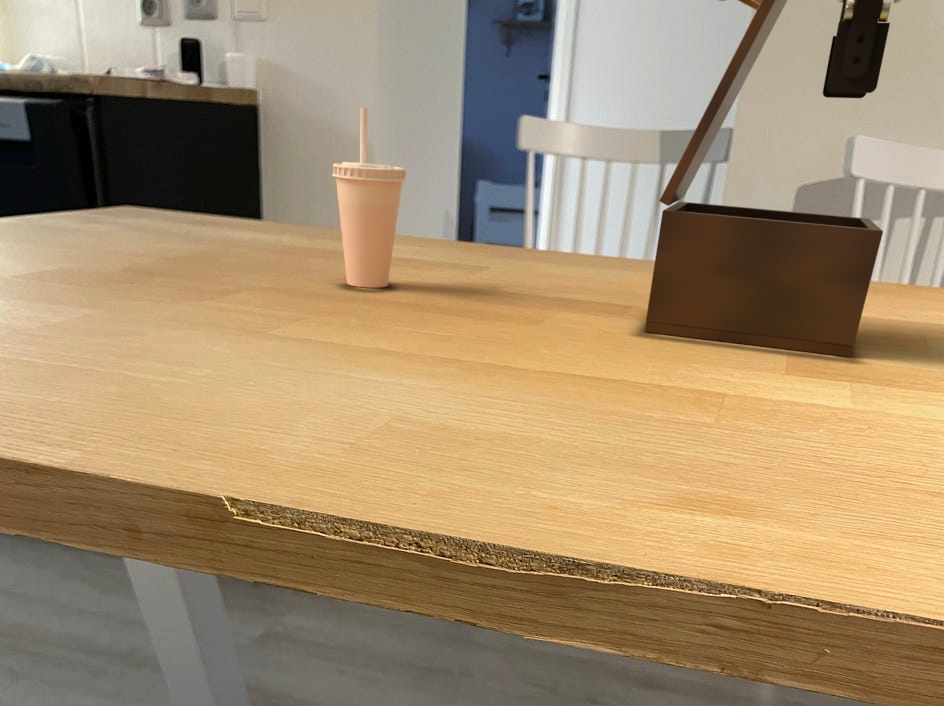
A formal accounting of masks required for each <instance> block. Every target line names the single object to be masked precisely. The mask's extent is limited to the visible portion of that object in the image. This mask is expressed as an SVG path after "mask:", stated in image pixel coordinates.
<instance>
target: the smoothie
mask: <svg viewBox="0 0 944 706" xmlns="http://www.w3.org/2000/svg"><path fill="white" fill-rule="evenodd" d="M359 118H360V121H359V124H360V125H359V128H360V130H359V131H360V132H359V140H360V141H359V162H356V161H355V162H353V161H342V162H335V163H333V164H332V174H331V177H334V178H335V183H336V193H337V194H336V195H337V201H338V202H337V203H338V211H339V220H340V221H339V222H340V229H341V230H340V231H341V239H342V240H341V241H342V247H343V248H342V249H343V258H344V266H345V268H344V269H345V278H346V283H347V285H349V286H353V287H360V288H370V289H371V288H373V289H375V288H385V287H388V286H389V279H390V271H391V266H392V265H391V264H392V257H393V252H394V251H393V250H394V243H395V238H396V237H395V236H396V229H397V223H398V222H397V221H398V215H399V209H400V202H401V193H402V187H403V183H405V182H407V179H406V172H407V170H406V169H405V168H404V167H401V166H393V165H387V164H377V163H370V162H367V152H368V151H367V150H368V149H367V147H368V108H366V107H360V117H359Z"/></svg>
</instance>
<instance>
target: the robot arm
mask: <svg viewBox="0 0 944 706" xmlns="http://www.w3.org/2000/svg"><path fill="white" fill-rule="evenodd" d="M837 1H838V2H839V3H840V4H841V10H840V14H839V19H838V24H837V29H836V34H835V35H833V36H832V40H831V45H830V51H829V56H828V61H827V67H826V70H825V71H826V72H825V77H824V83H823V89H822V96H823V97H825V98H830V99H831V98H834V99H836V98H837V99H863V98H865V96H866V95H867V94H872V93H873V92H874V91H876V89H877V87H878V83H879V77H880V75H881V74H880V73H881V68H882V64H883V59H884V55H885V51H886V50H885V49H886V45H887V40H888V35H889V30H890V25H891V22H888V20H889V16H890V10H891V6H892V0H837ZM902 1H903V0H893V4H899V3H900V2H902Z"/></svg>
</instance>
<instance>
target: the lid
mask: <svg viewBox="0 0 944 706" xmlns="http://www.w3.org/2000/svg"><path fill="white" fill-rule="evenodd" d="M717 1H718V2H726V1H727V0H717ZM737 1H738V2H739V3H741V4H743V5H745V6H747V7H749V8H750V9H753V10H755V12H754V14H753V17H752V19H751V20H750V22H749V24H748V27H747V29H746V30H745V33H744V35H743V36H742V38H741V40H740V41H739V43H738V47H737V48H736V50H735V52H734V54H733V56H732V58H731V60H730V61H729V63H728V65H727V68H726V70H725V72H724V73H723V74H722V75H723V76H722V77H721V79H720V81H719V83H718V85H717V87H716V89H715V91H714V93H713V95H712V97H711V99H710V101H709V102H708V105H707V107H706V108H705V110H704V112H703V115H702V116H701V119H700V120H699V122H698V124H697V126H696V128H695V130H694V132H693V134H692V135H691V138H690V140H689V141H688V144H687V146H686V148H685V149H684V151H683V153H682V155H681V157H680V159H679V162H677V166H676V167H675V169H674V171H673V174H672V175H671V177H670V179H669V181H668V183H667V185H666V187H665V188H664V190H663V192H662V195H661V196H660V198H659V202H660V203H662V204H664V205H665V206H667V207H670V206H672V205H674V204H676V203H677V202H679V201H680V200H682V199H684V198H685V196H686V195H687V192H688V191H689V189H690V187H691V186H692V185H691V184H692V183H693V181H694V179H695V177H696V175H697V173H698V171H699V170H700V168H701V166H702V164H703V163H704V162H703V161H705V158H706V156H707V154H708V153H709V150H710V148H711V147H712V145H713V144H714V141H715V139H716V137H717V136H718V133H719V132H720V130H721V127H722V126H723V124H724V122H725V120H726V119H727V116H728V114H729V112H730V110H731V109H732V107H733V105H734V103H735V101H736V99H737V98H738V96H739V93H740V92H741V90H742V89H743V86H744V84H745V82H746V80H747V78H748V77H749V74H750V72H751V70H752V69H753V67H754V66H755V65H754V64H755V63H756V61H757V59H758V58H759V55H760V53H761V52H762V50H763V47H764V46H765V44H766V43H767V40H768V38H769V37H770V34H771V33H772V30H773V28H774V27H775V25H776V23H777V21H778V19H779V18H780V15H781V14H782V11H783V10H784V8H785V6H786V4H787V2H788V0H737Z"/></svg>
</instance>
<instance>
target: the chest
mask: <svg viewBox="0 0 944 706" xmlns="http://www.w3.org/2000/svg"><path fill="white" fill-rule="evenodd" d="M661 212H662V213H661V220H660V226H659V231H658V238H657V247H656V253H655V258H654V265H653V270H652V271H653V272H652V278H651V285H650V291H649V297H648V304H647V311H646V317H645V325H644V333H649V334H650V333H651V334H658V335H667V336H675V337H684V338H692V339H700V340H707V341H715V342H724V343H733V344H742V345H749V346H758V347H766V348H773V349H782V350H791V351H798V352H807V353H815V354H823V355H831V356H840V357H848V358H850V357H852V353H853V350H854V346H855V342H856V338H857V334H858V331H859V327H860V323H861V319H862V316H863V311H864V307H865V304H866V300H867V296H868V292H869V288H870V284H871V281H872V276H873V272H874V268H875V265H876V261H877V257H878V252H879V250H880V245H881V241H882V238H883V233H884V230H882V229H881V228H880V227H879V226H878V225H877V224H876V223H874V221H872V220H871V218H867V217H856V216H855V217H854V216H844V215H835V214H834V215H833V214H822V213H813V212H812V213H810V212H801V211H788V210H780V209H779V210H778V209H769V208H768V209H766V208H756V207H745V206H733V205H723V204H711V203H703V202H702V203H701V202H689V201H680V200H678V201H676V202H675V203H673V204H671V205H669V206H667V208H665V209H663V210H662V211H661Z"/></svg>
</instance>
